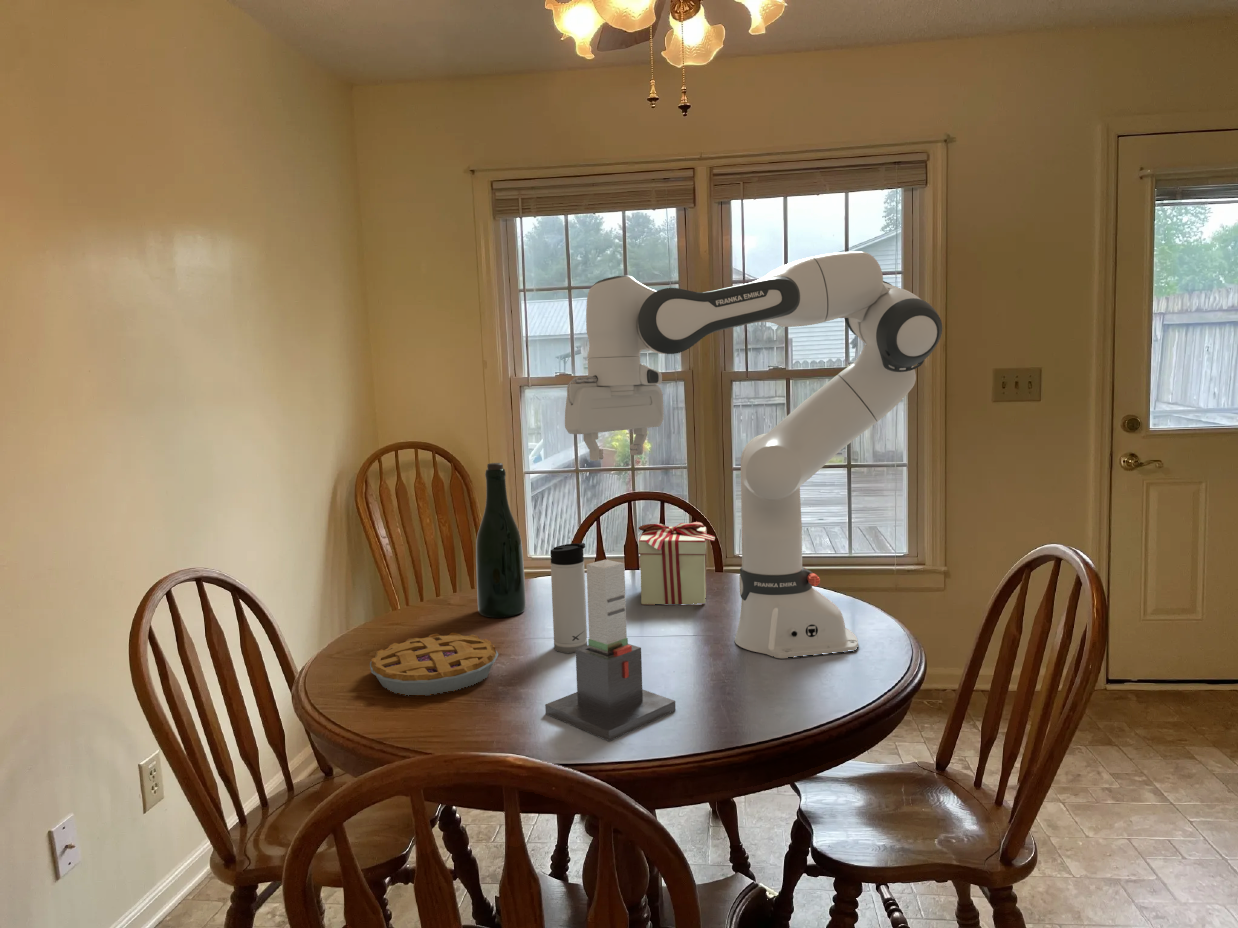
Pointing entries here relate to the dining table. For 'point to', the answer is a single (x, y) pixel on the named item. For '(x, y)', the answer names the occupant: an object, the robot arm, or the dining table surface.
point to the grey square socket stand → (609, 695)
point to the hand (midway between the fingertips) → (617, 457)
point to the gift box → (673, 563)
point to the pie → (434, 664)
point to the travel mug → (568, 597)
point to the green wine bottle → (499, 552)
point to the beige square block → (606, 606)
